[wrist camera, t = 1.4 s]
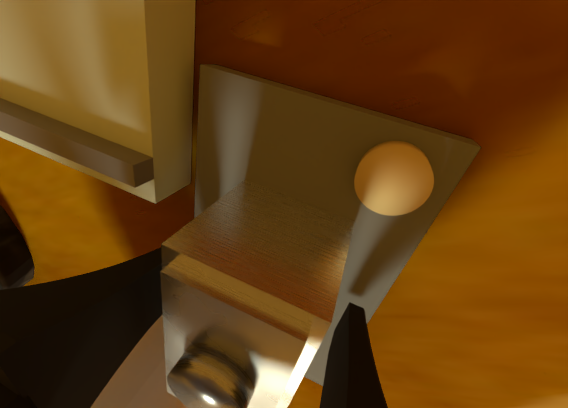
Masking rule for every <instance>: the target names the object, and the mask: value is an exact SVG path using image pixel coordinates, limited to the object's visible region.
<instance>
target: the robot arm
mask: <svg viewBox="0 0 568 408" xmlns="http://www.w3.org/2000/svg"><path fill="white" fill-rule="evenodd" d="M161 270H162V252H161V248H159V249H156V250H154V251H152V252H149V253H147V254H144V255H142V256H139V257H136V258H134V259H131V260H128V261H126V262H123V263H120V264H117V265H114V266H111V267H107V268H104V269H101V270H97V271H94V272H90V273H86V274H82V275H78V276H74V277H70V278H66V279H61V280H56V281H51V282H47V283H41V284H36V285H30V286H24V287H17V288H10V289H3V290H0V408H187V407H186V406H185V405H184V404H183V403H182V402H181V401H180V400H179V399H178V398H177V397H175V396H173V395H172V394H170V393H168V392H167V386H166V367H165V349H164V330H163V312H162V294H161V275H160V271H161ZM320 408H388V407H387V404H386V401H385V397H384V394H383V391H382V388H381V384H380V381H379V377H378V373H377V370H376V366H375V362H374V357H373V353H372V349H371V344H370V339H369V334H368V329H367V323H366V315H365V310H364V308H362V307H360V306H357V305H355V304H353V303H350V302H349V304H348V306H347V308H346V310H345V311H344V313H343V315H342V317H341V319H340V321H339V322H338V324H337V326H336V328H335V330H334V333H333V337H332V341H331V345H330V348H329V352H328V358H327V364H326V370H325V377H324V383H323V390H322V396H321V403H320Z"/></svg>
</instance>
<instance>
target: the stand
mask: <svg viewBox="0 0 568 408" xmlns="http://www.w3.org/2000/svg"><path fill="white" fill-rule="evenodd" d="M195 4H196V0H0V137H2V138H4V139H6V140H9V141H11V142H13V143H16V144H18V145H20V146H23V147H25V148H27V149H30V150H32V151H34V152H37V153H39V154H41V155H43V156H46V157H48V158H50V159H53V160H55V161H57V162H60V163H62V164H64V165H67V166H69V167H71V168H74V169H76V170H78V171H81V172H83V173H85V174H88V175H90V176H92V177H95V178H97V179H99V180H102V181H104V182H106V183H108V184H111V185H113V186H115V187H118V188H120V189H122V190H125V191H127V192H129V193H132V194H134V195H136V196H139V197H141V198H143V199H146V200H148V201H150V202H153V203H155V204H156V203H158V202H160V201H161V200H163V199H165V198H166V197H168V196H170V195H172V194H173V193H175V192H177V191H178V190H180V189H182V188H184V187H185V186H187V185H189V184H190V183H191V152H192V115H193V78H194V41H195Z"/></svg>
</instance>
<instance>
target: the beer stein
mask: <svg viewBox="0 0 568 408" xmlns="http://www.w3.org/2000/svg"><path fill="white" fill-rule="evenodd" d="M33 276H34V264H33V260H32V256H31V254H30V252H29V250H28V248H27V246H26V244H25V242H24V239H23V237H22V235H21V234H20V232H19V231H18V229H17V228H16V226H15V225H14V223H13V222H12V220H11V219H10V218H9V216H8V215H7V213H6V212H5V210H4V209H3V208H2V207H1V206H0V290H3V289H10V288H17V287H22V286H23V285H25V284H26V283H27V282H29V281H30V280H31V279H32V278H33Z"/></svg>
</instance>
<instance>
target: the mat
mask: <svg viewBox="0 0 568 408" xmlns="http://www.w3.org/2000/svg"><path fill="white" fill-rule="evenodd" d="M480 149H481V147H480V146H479V145H478V144H477V143H476V142H475V141H474V140H472V139H469V138H465V137H462V136H459V135H455V134H452V133H448V132H445V131H441V130H438V129H435V128H431V127H428V126H424V125H421V124H418V123H414V122H411V121H407V120H404V119H400V118H397V117H394V116H390V115H387V114H383V113H380V112H376V111H373V110H370V109H366V108H363V107H359V106H356V105H353V104H349V103H346V102H342V101H339V100H335V99H332V98H329V97H325V96H322V95H318V94H315V93H311V92H308V91H305V90H301V89H298V88H294V87H291V86H288V85H284V84H281V83H277V82H274V81H270V80H267V79H264V78H260V77H257V76H253V75H250V74H246V73H243V72H240V71H236V70H233V69H229V68H226V67H223V66H219V65H216V64H200V75H199V101H198V128H197V154H196V180H195V206H194V218H196V217H197V216H198V215H199V214H201V213H202V212H203V211H205V210H206V209H207V208H208V207H210V206H211V205H212V204H214V203H215V202H216V201H218V200H219V199H220V198H221V197H223V196H224V195H225V194H227V193H228V192H229V191H230V190H232V189H233V188H234V187H236V186H237V185H238V184H240V183H241V182H242V181H243V180H248V181H250V182H253V183H256V184H258V185H261V186H263V187H266V188H269V189H271V190H274V191H277V192H279V193H282V194H285V195H287V196H290V197H292V198H295V199H298V200H300V201H303V202H306V203H308V204H311V205H314V206H316V207H319V208H321V209H324V210H327V211H329V212H332V213H335V214H337V215H340V216H342V217H345V218H348V219H350V220H353V221H355V224H354V228H353V232H352V237H351V241H350V245H349V249H348V254H347V258H346V262H345V267H344V271H343V275H342V280H341V284H340V288H339V293H338V297H337V301H336V306H335V310H334V314H333V318H332V323H331V325H330V327H329V329H328V331H327V333H326V334H325V336H324V338H323V340H322V342H321V344H320V346H319V348H318V350H317V352H316V354H315V355H314V357H313V359H312V361H311V363H310V365H309V367H308V369H307V371H306V373H305V374H304V377H306V378H308V379H310V380H312V381H314V382H316V383H318V384H320V385H322V386H323V383H324V377H325V370H326V364H327V358H328V352H329V348H330V345H331V341H332V337H333V333H334V330H335V328H336V326H337V324H338V322H339V321H340V319H341V317H342V315H343V313H344V311H345V310H346V308H347V306H348V304H349V302H350V303H353V304H355V305H357V306H360V307H362V308H364V310H365V315H366V323H368V321H369V320H370V318H371V317H372V315H373V314H374V312H375V311H376V309H377V308H378V306H379V305H380V303H381V301H382V300H383V298H384V297H385V295H386V294H387V292H388V291H389V289H390V288H391V286H392V284H393V283H394V281H395V280H396V278H397V277H398V275H399V274H400V272H401V271H402V269H403V267H404V266H405V264H406V263H407V261H408V260H409V258H410V257H411V255H412V254H413V252H414V251H415V249H416V247H417V246H418V244H419V243H420V241H421V240H422V238H423V237H424V235H425V234H426V232H427V230H428V229H429V227H430V226H431V224H432V223H433V221H434V220H435V218H436V217H437V215H438V213H439V212H440V210H441V209H442V207H443V206H444V204H445V203H446V201H447V200H448V198H449V196H450V195H451V193H452V192H453V190H454V189H455V187H456V186H457V184H458V183H459V181H460V180H461V178H462V176H463V175H464V173H465V172H466V170H467V169H468V167H469V166H470V164H471V163H472V161H473V159H474V158H475V156H476V155H477V153H478V152H479V150H480Z"/></svg>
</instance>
